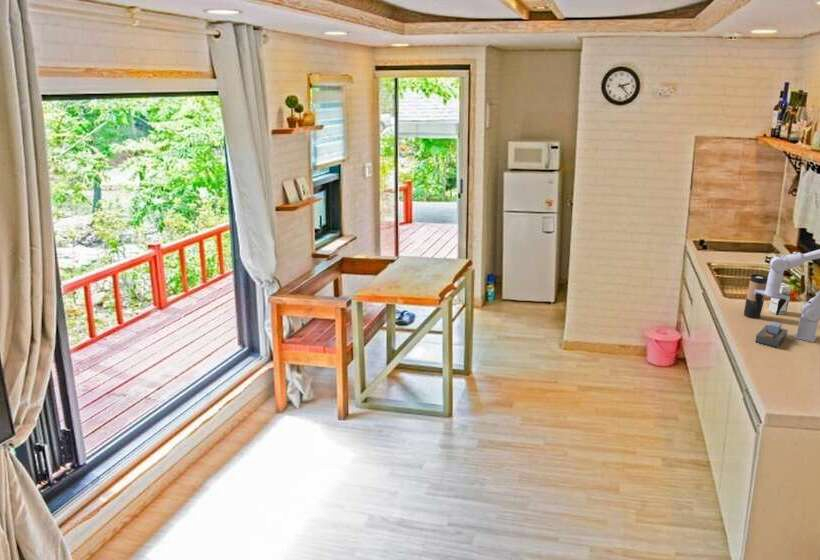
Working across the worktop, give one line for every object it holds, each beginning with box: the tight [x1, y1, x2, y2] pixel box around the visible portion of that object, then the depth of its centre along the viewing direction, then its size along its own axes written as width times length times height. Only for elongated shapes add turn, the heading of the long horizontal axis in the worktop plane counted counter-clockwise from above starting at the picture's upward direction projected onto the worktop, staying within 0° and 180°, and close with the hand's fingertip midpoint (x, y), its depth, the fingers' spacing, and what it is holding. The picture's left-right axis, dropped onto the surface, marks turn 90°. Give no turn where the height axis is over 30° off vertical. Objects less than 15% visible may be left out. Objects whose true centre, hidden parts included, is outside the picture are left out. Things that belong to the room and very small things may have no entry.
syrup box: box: [768, 282, 792, 315], centre depth 358 cm, size 6×6×14 cm
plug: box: [768, 321, 783, 334], centre depth 323 cm, size 6×4×6 cm, turn 142°
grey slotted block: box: [754, 324, 789, 349], centre depth 321 cm, size 18×9×4 cm, turn 142°
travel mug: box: [743, 273, 768, 319], centre depth 349 cm, size 8×8×20 cm
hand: (767, 312), depth 328 cm, fingers open, 7 cm apart
